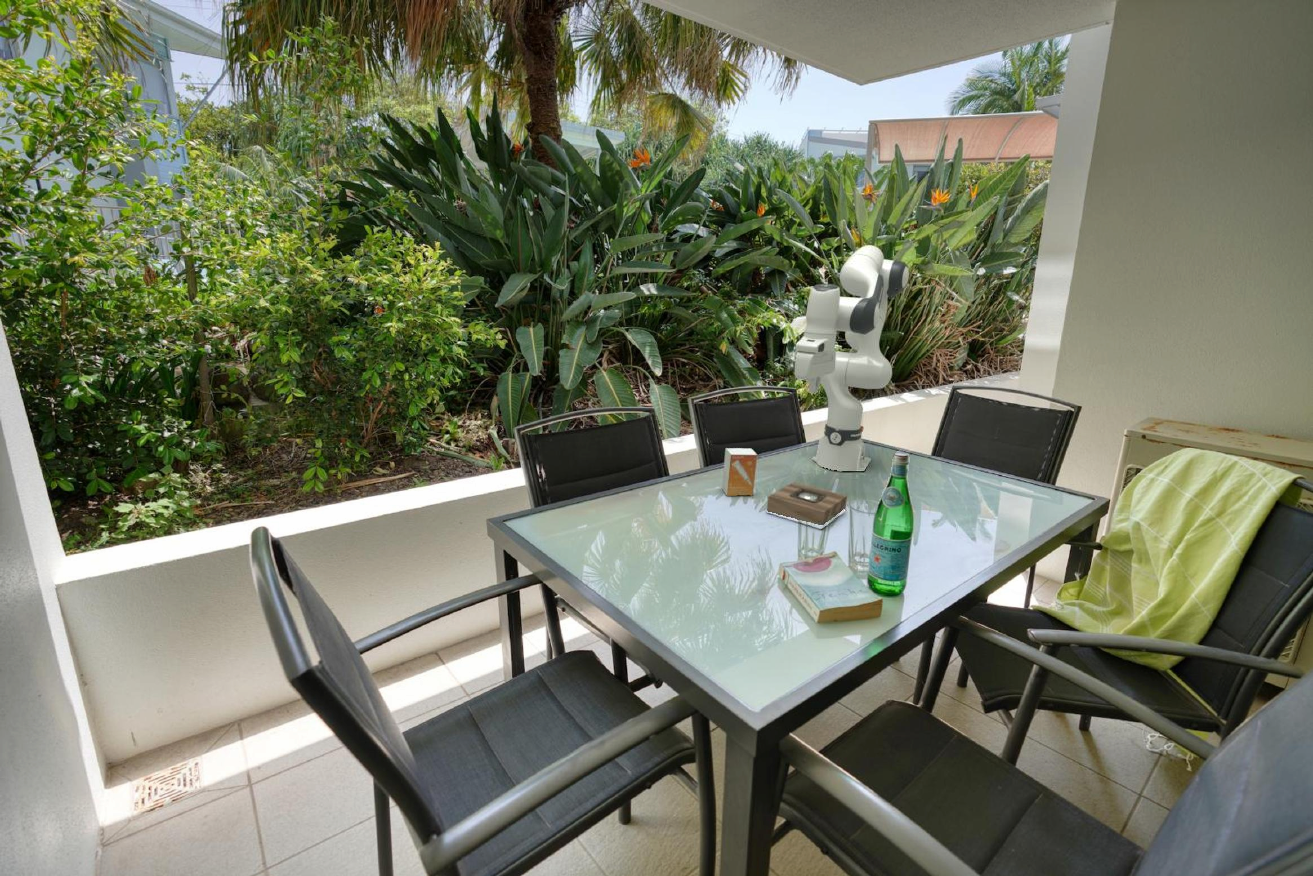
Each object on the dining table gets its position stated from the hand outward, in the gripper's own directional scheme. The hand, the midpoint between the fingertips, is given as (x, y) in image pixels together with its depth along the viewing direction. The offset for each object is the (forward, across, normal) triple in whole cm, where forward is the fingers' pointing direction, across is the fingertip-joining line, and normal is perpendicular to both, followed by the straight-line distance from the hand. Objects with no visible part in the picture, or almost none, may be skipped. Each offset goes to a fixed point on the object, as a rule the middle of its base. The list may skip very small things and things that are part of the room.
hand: (813, 391), depth 177 cm
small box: (+31, +14, -14) cm, 37 cm away
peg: (+31, +14, +8) cm, 35 cm away
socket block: (+31, +14, +8) cm, 35 cm away
